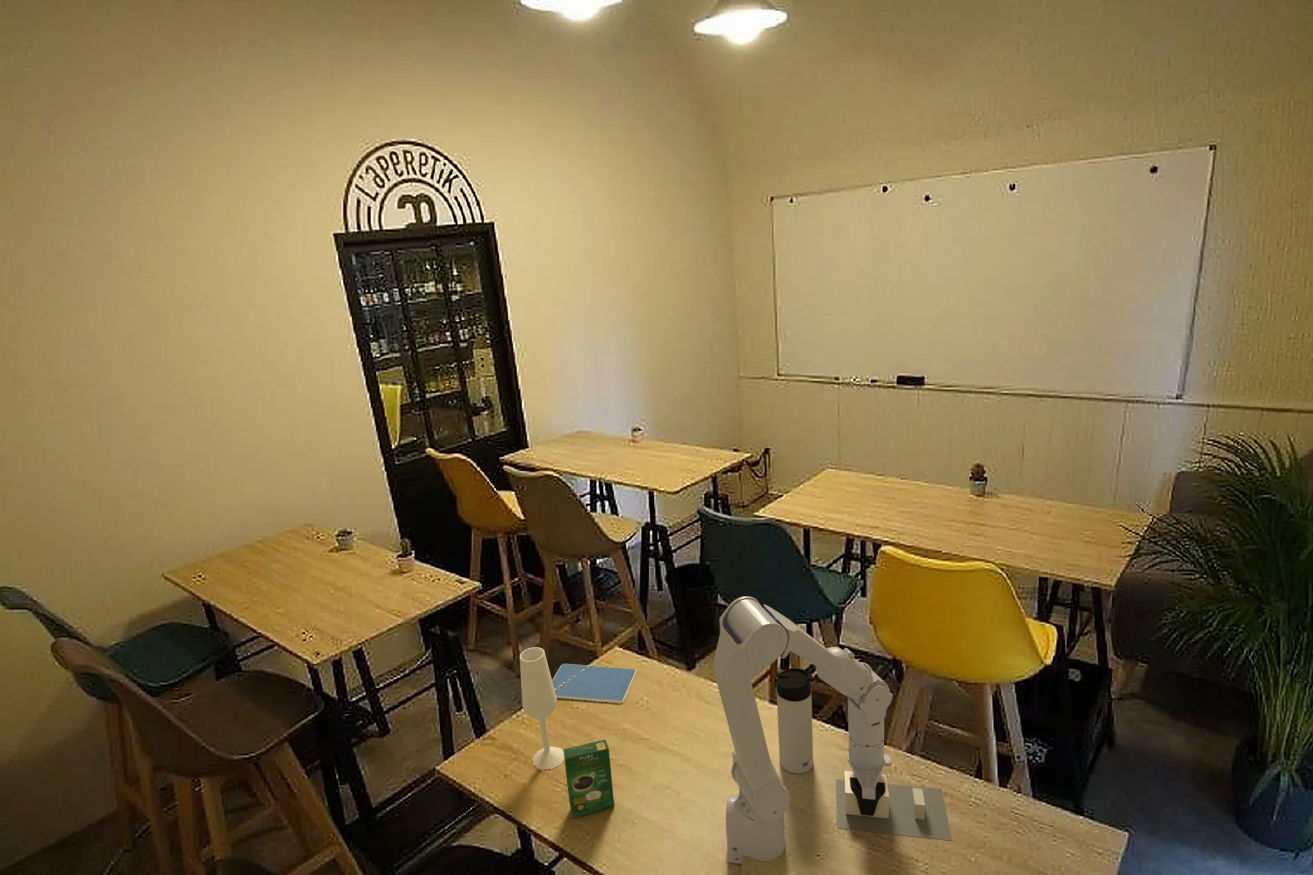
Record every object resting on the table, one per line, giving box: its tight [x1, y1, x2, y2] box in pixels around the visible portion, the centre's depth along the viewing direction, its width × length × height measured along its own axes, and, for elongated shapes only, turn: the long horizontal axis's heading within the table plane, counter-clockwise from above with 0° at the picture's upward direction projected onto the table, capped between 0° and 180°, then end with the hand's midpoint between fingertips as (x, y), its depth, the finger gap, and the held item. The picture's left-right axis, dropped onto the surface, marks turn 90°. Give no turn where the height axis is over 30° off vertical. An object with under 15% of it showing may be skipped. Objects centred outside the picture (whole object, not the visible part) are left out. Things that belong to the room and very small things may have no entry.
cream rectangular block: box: [844, 770, 889, 819], centre depth 120 cm, size 5×7×4 cm
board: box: [835, 778, 953, 842], centre depth 120 cm, size 18×11×4 cm, turn 77°
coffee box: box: [563, 739, 615, 819], centre depth 125 cm, size 8×3×13 cm, turn 104°
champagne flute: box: [519, 646, 565, 770], centre depth 137 cm, size 7×7×24 cm
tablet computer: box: [552, 663, 638, 704], centre depth 162 cm, size 19×13×1 cm, turn 76°
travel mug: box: [775, 667, 814, 775], centre depth 130 cm, size 6×7×20 cm
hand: (866, 801), depth 121 cm, fingers closed on cream rectangular block, 5 cm apart
